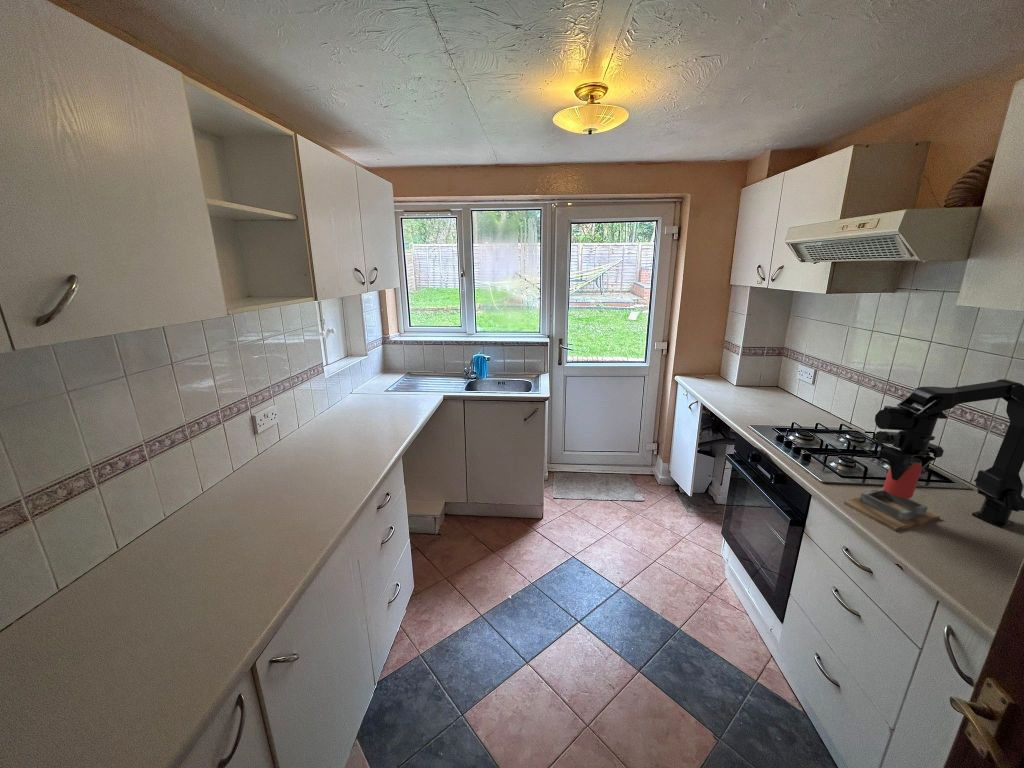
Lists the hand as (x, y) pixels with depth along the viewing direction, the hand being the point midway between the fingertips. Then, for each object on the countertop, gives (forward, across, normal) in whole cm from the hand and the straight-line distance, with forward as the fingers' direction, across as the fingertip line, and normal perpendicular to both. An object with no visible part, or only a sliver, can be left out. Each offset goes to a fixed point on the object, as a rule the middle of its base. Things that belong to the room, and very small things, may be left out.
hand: (902, 477), depth 119 cm
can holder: (+12, 0, 0) cm, 12 cm away
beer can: (+6, 0, 0) cm, 6 cm away
